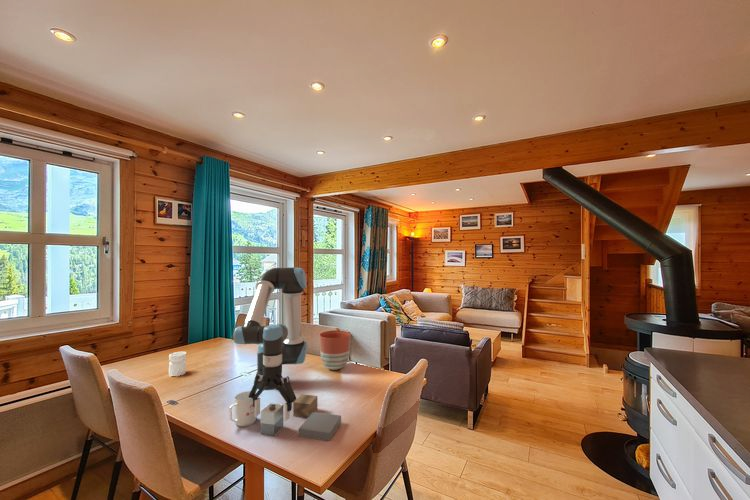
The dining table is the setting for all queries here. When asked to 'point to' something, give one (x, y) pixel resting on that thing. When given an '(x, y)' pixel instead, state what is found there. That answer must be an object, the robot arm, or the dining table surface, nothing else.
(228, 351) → the dining table surface
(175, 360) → the white lidded jar
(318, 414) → the slate stand
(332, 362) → the planter
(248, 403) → the mug
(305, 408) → the walnut stand
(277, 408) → the block
